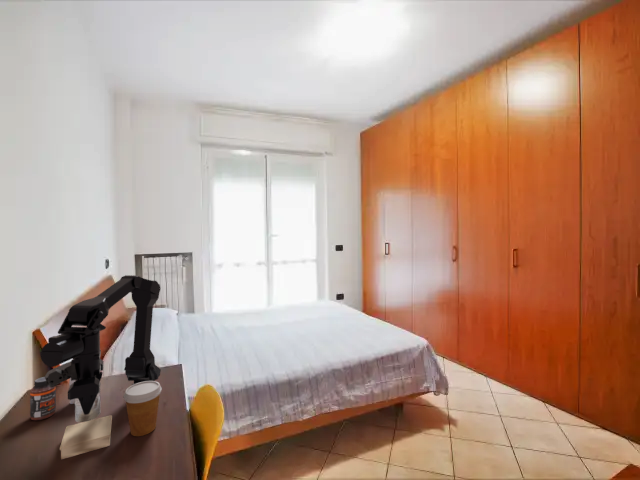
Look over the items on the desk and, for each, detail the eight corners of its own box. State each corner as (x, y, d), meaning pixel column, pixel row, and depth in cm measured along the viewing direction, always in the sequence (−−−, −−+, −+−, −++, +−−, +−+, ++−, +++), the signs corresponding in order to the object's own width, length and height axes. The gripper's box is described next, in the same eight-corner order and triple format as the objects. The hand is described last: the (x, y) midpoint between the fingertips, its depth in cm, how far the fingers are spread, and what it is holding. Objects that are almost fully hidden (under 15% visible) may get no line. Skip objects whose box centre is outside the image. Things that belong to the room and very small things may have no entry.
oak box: (112, 425, 93) (112, 415, 92) (110, 445, 84) (110, 434, 84) (66, 437, 87) (66, 426, 87) (60, 460, 78) (59, 448, 78)
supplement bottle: (40, 422, 94) (40, 384, 94) (24, 420, 95) (24, 382, 95) (61, 411, 100) (60, 375, 100) (45, 409, 101) (45, 374, 101)
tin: (76, 414, 86) (75, 384, 86) (101, 408, 89) (101, 379, 89) (73, 424, 81) (72, 393, 81) (100, 418, 84) (99, 388, 84)
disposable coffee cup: (115, 435, 88) (115, 392, 88) (145, 417, 97) (145, 377, 97) (140, 443, 84) (140, 399, 84) (169, 423, 93) (169, 383, 93)
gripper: (55, 345, 89) (56, 401, 89) (39, 370, 73) (40, 438, 73) (103, 338, 95) (104, 390, 95) (98, 360, 79) (99, 423, 79)
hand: (88, 408), depth 85 cm, fingers closed on tin, 5 cm apart
